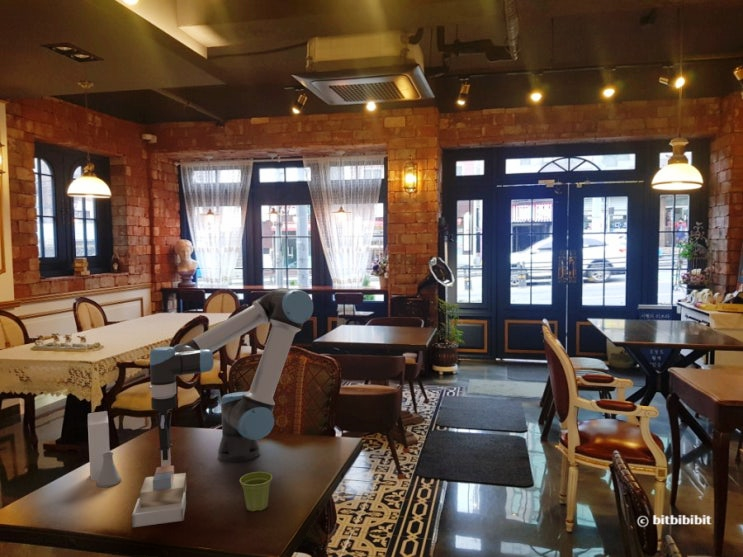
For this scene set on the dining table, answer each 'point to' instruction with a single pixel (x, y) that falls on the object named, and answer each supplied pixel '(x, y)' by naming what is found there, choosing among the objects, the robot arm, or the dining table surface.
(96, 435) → the milk
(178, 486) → the cream square tray
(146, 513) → the box
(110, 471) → the flask
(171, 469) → the terracotta tile
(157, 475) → the slate tile
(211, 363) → the robot arm
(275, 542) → the dining table surface
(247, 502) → the plant pot
